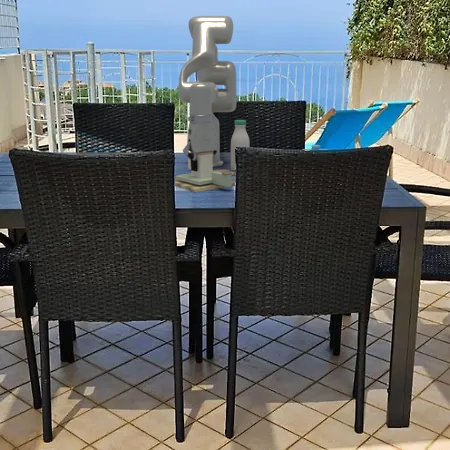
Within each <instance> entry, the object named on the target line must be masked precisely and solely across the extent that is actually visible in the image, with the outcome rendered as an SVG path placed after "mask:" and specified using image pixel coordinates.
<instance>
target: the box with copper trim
mask: <svg viewBox="0 0 450 450" xmlns="http://www.w3.org/2000/svg"><path fill="white" fill-rule="evenodd" d="M189 153H191V151H189ZM212 153H213V151H209V152H201V153H197V157H196V160H197V168H198V171H196V172H195V171H192V170H191V160H190V159H189V158H188V157H187V163H188V164H187V165H188V166H187V169H188V170H190V171H191V172H190V173H191V176H193V177H198V178H205V177H211V176H212V172H213V170H214V169H213V154H212ZM193 154H194V153H193Z"/></svg>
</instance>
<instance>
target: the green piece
mask: <svg viewBox="0 0 450 450" xmlns="http://www.w3.org/2000/svg"><path fill="white" fill-rule="evenodd" d="M232 178H233V175H232V173H229V172H225V173H220V172H212V176H211V177H205V178H198V177H193V176H191V172H189V173H184V174H179V175H178V174H177V175H174V179H176V180H181V181H185V182H189V183H193V184H197V185H203V184H208V183H213V184H217V185H221V186H225V188H229V187H230V188H231V187H233V186H232V181H233V179H232Z"/></svg>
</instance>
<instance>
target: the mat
mask: <svg viewBox="0 0 450 450" xmlns="http://www.w3.org/2000/svg"><path fill="white" fill-rule="evenodd" d="M213 172H220V173H225V172H229V173H232V176H234V175H235V171H234V170H231V169H230V170H229V169H213Z"/></svg>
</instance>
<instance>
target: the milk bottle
mask: <svg viewBox="0 0 450 450" xmlns="http://www.w3.org/2000/svg"><path fill="white" fill-rule="evenodd" d="M246 126H247V120H246V119H235V120H234V127H235V128H234V131H233V134H232V137H231V139H230V171H233V172H236V171H235V149H236V147H251V145H250V144H251V143H250V137H249V135H248V133H247V130H246Z"/></svg>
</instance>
